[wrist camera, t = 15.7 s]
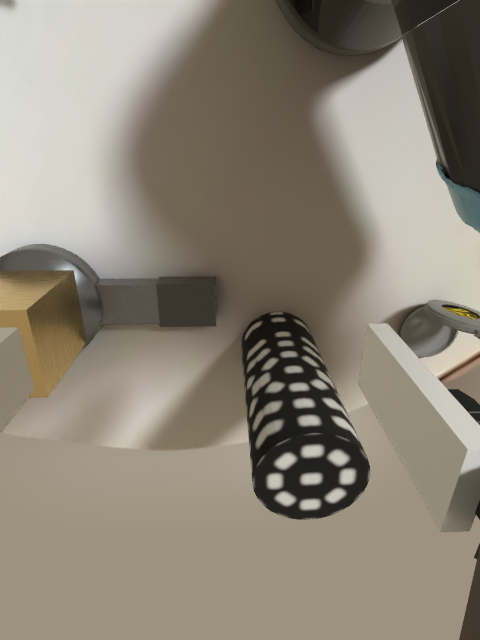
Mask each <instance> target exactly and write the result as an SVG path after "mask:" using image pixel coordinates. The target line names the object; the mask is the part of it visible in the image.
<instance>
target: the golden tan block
mask: <svg viewBox="0 0 480 640" xmlns="http://www.w3.org/2000/svg"><path fill="white" fill-rule="evenodd" d="M8 327H19V331H20V335H21V339H22V343H23V346H24V350H25V354H26V358H27V362H28V365H29V369H30V373H31V377H32V380H33V384H34V388H35V390H34V391H33V392H32V393H31V395H30V396H29V397H28V398H35V397H49V395H50V394H51V392H52V391H53V389H54V388H55V386H56V385H57V384H58V382H59V381H60V379H61V378H62V376H63V375H64V374H65V372H66V371H67V369H68V368H69V366H70V365H71V364H72V362H73V361H74V359H75V358H76V356H77V355H78V353H79V352H80V351H81V349H82V348H83V346H84V345H85V343H86V342H87V339H86V334H85V329H84V323H83V318H82V312H81V307H80V301H79V296H78V290H77V285H76V280H75V274H74V270H15V271H0V328H8Z"/></svg>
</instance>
